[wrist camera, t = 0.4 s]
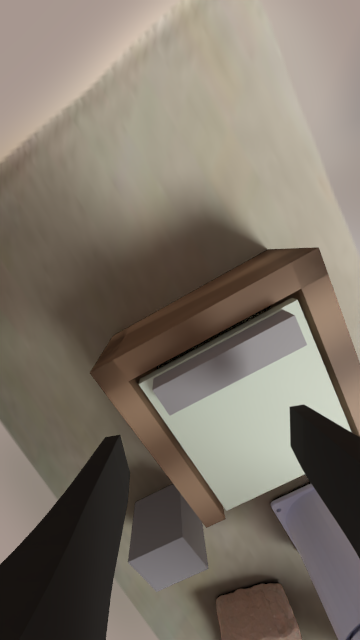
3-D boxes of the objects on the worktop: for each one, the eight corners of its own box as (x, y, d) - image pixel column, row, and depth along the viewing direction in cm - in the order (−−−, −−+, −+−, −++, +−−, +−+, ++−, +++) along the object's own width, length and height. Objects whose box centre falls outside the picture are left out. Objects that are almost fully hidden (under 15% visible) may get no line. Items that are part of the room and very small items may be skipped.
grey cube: (200, 508, 24) (208, 568, 20) (158, 528, 25) (156, 591, 20) (179, 480, 23) (182, 536, 19) (135, 501, 24) (127, 562, 19)
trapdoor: (346, 437, 17) (374, 464, 14) (222, 495, 17) (231, 530, 15) (287, 296, 14) (311, 304, 11) (140, 375, 14) (136, 396, 12)
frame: (327, 391, 21) (388, 443, 15) (195, 456, 22) (206, 527, 17) (267, 249, 18) (318, 247, 12) (113, 335, 19) (89, 373, 13)
